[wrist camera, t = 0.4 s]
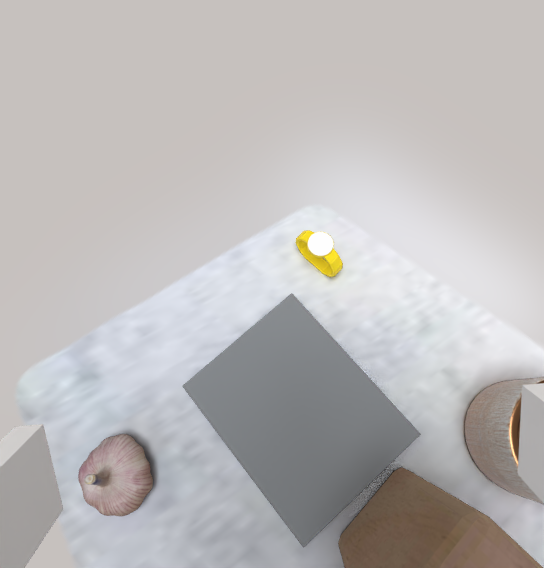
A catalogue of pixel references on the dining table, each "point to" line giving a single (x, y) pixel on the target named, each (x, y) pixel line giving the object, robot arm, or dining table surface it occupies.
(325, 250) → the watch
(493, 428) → the planter
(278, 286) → the dining table surface
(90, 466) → the garlic bulb
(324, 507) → the mat
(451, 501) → the wooden block
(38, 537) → the robot arm
